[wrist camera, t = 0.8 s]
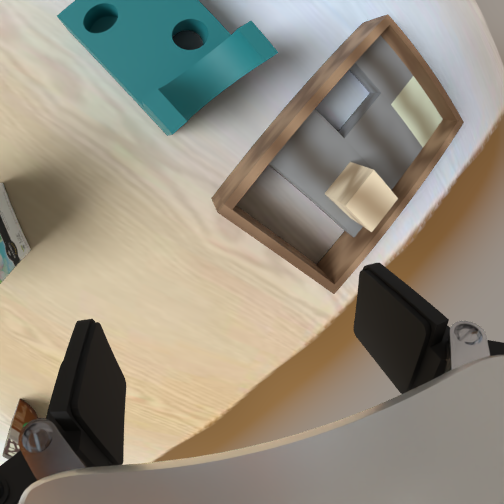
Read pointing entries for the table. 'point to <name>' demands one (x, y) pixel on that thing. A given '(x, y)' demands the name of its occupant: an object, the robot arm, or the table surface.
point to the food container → (18, 427)
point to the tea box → (10, 237)
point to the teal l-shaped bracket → (165, 52)
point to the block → (362, 195)
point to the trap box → (351, 144)
